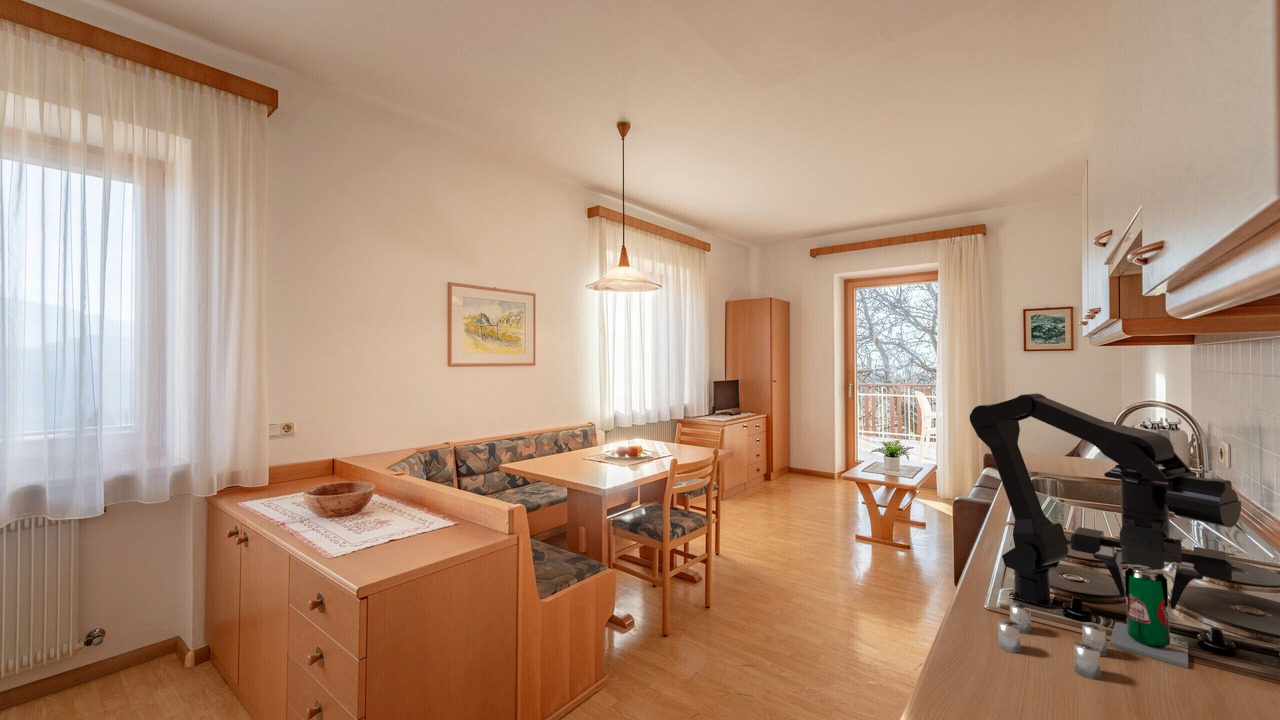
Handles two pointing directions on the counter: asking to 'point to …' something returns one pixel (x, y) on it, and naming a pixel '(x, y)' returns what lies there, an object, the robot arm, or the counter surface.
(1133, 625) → the soda can
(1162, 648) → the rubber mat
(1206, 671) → the counter surface
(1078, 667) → the spacer posts
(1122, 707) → the counter surface
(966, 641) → the counter surface
